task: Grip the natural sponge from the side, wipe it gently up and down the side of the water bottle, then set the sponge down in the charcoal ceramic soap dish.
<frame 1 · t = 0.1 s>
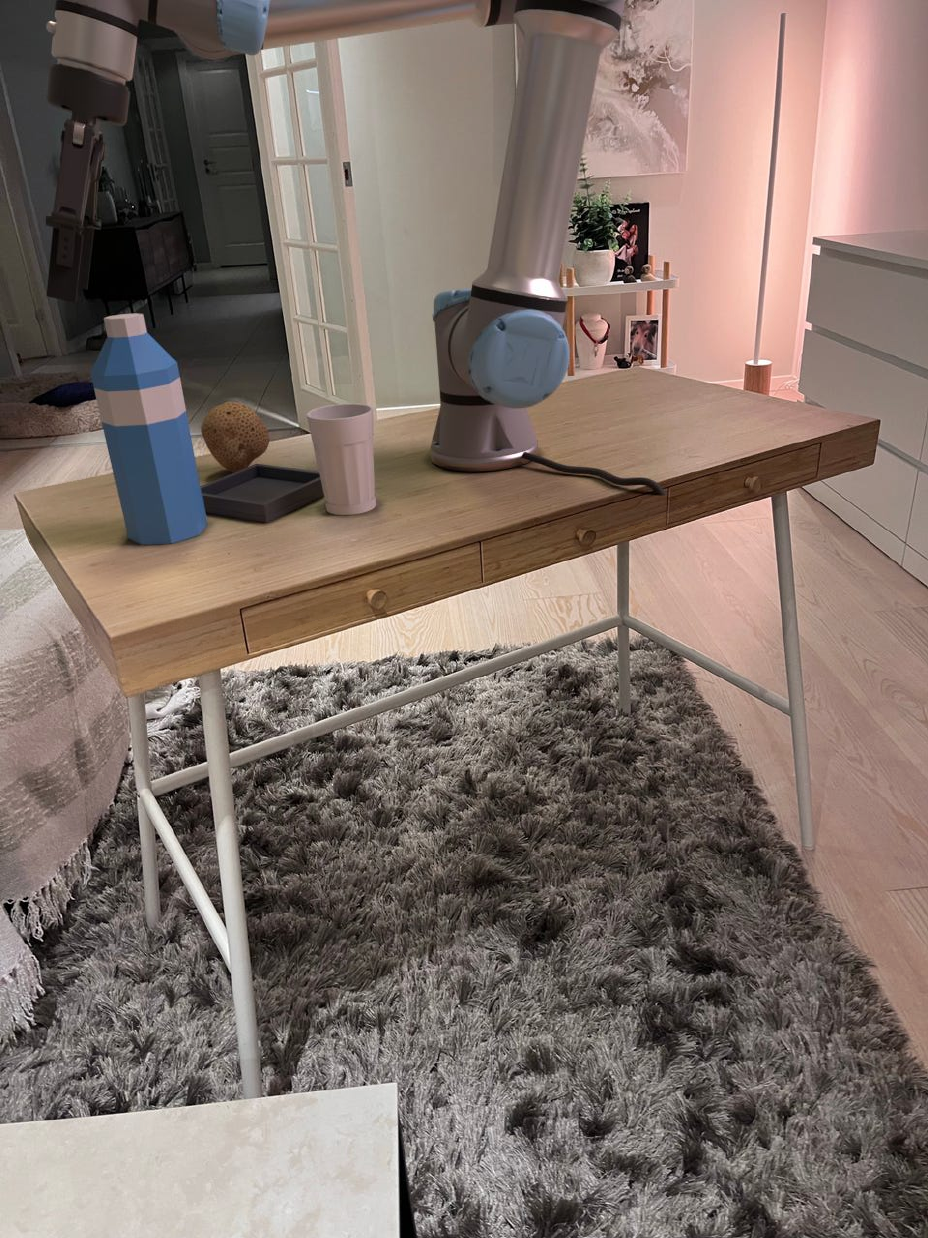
hand: (68, 292, 100), 28 cm above the table, tool tilted 20°, fingers open, 13 cm apart
soap dish: (262, 499, 122), on the table
cup: (351, 508, 118), on the table
water bottle: (168, 532, 113), on the table
natural sponge: (242, 472, 135), on the table
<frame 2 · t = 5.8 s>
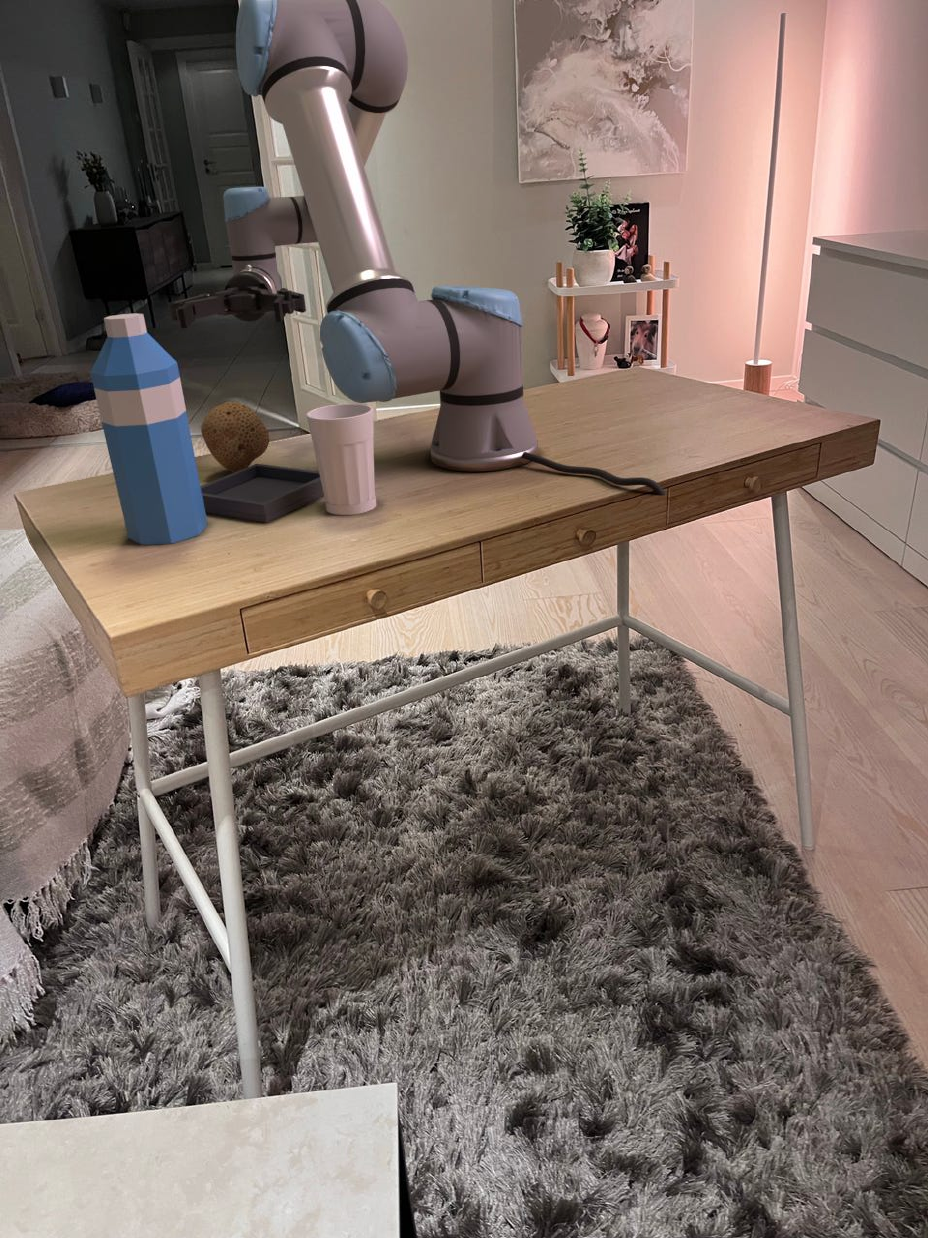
hand: (229, 315, 135), 20 cm above the table, tool horizontal, fingers open, 13 cm apart
nothing on the table moved.
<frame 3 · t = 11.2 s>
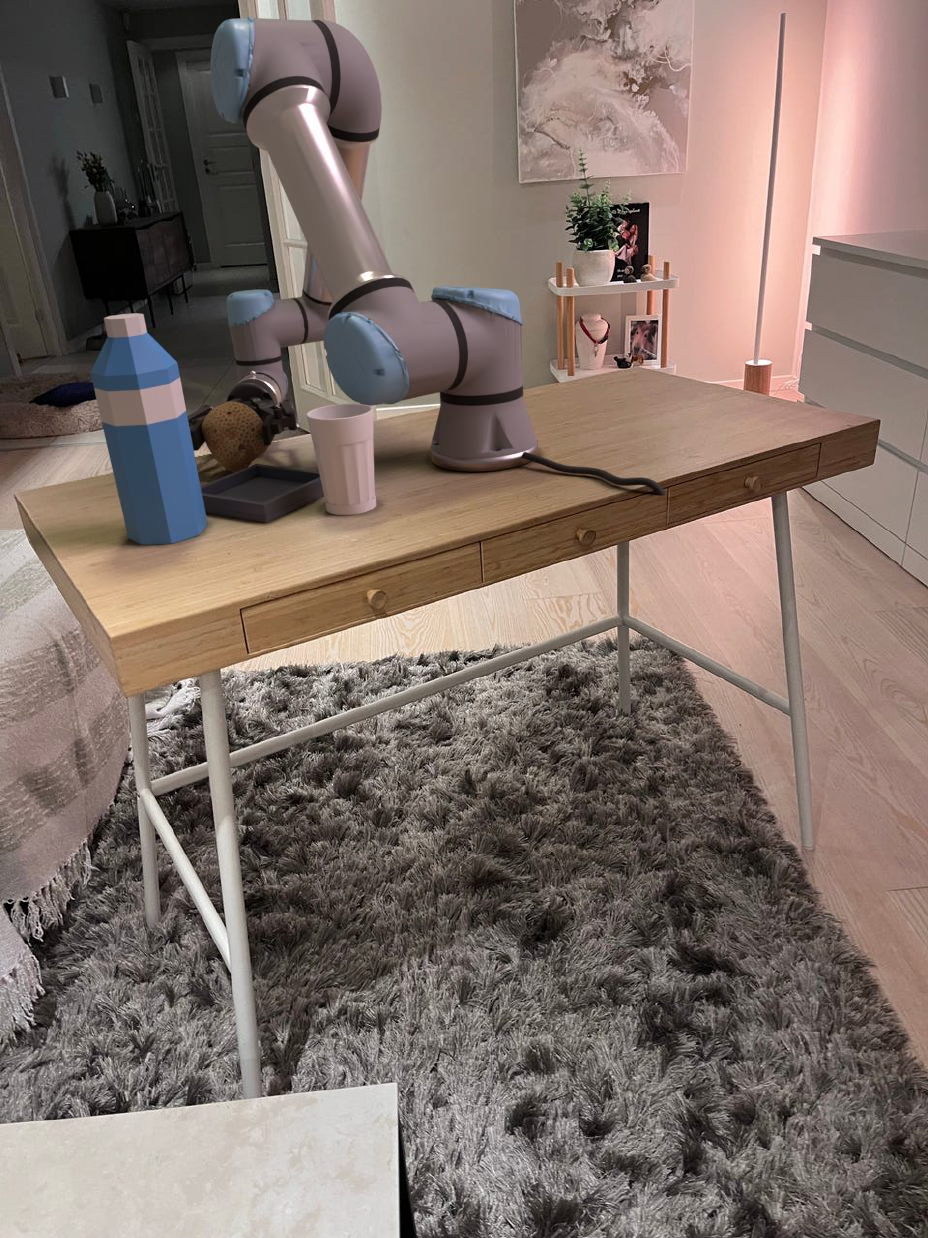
hand: (229, 438, 128), 6 cm above the table, tool horizontal, fingers closed on natural sponge, 9 cm apart
natural sponge: (242, 472, 135), on the table, touching gripper
everything else where it was.
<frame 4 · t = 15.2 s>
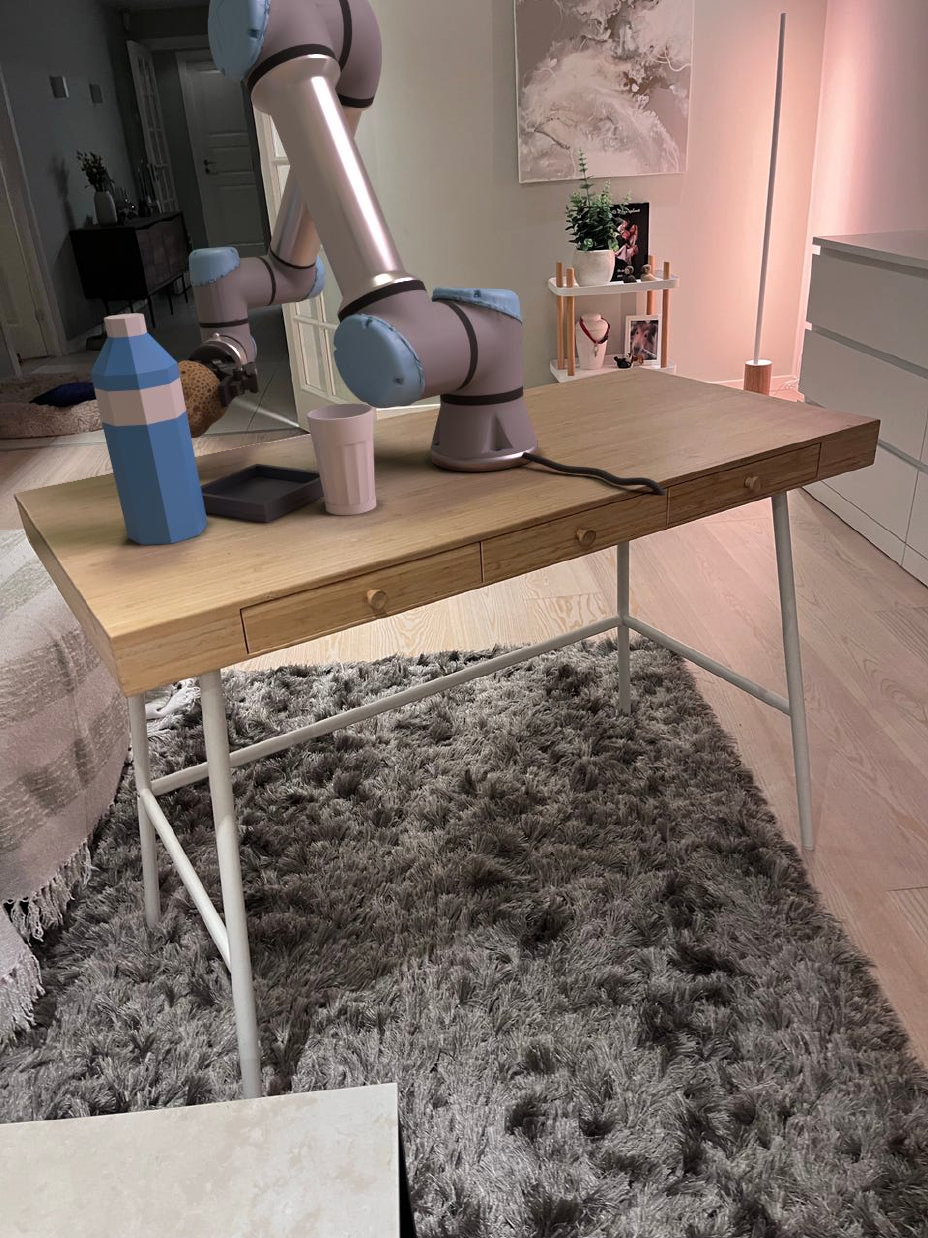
hand: (183, 399, 119), 13 cm above the table, tool horizontal, fingers closed on natural sponge, 9 cm apart
natural sponge: (199, 438, 126), point 7 cm above the table, touching gripper
everything else where it was.
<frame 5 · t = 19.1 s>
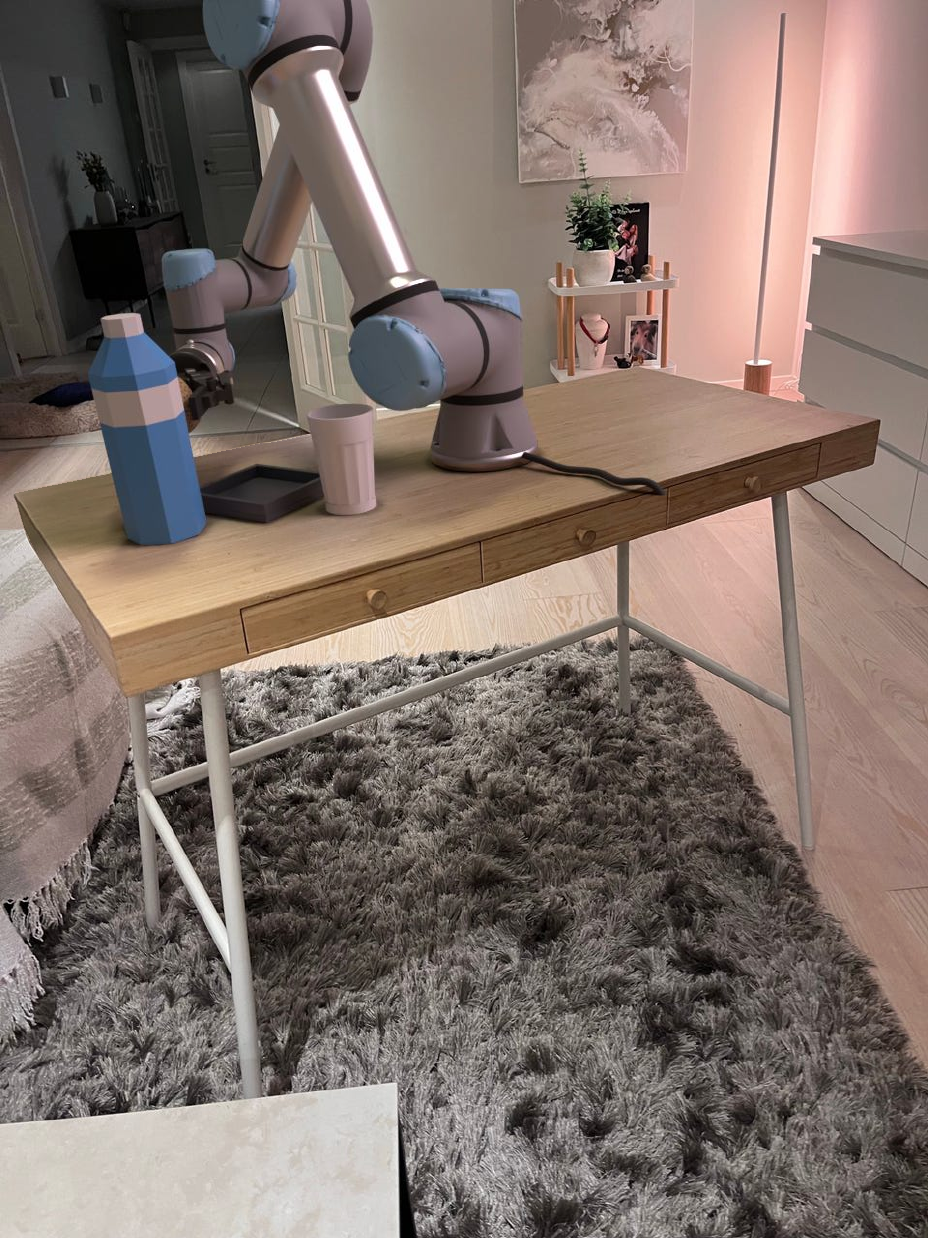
hand: (152, 411, 112), 13 cm above the table, tool horizontal, fingers closed on natural sponge, 9 cm apart
natural sponge: (170, 452, 118), point 7 cm above the table, touching gripper
everything else where it was.
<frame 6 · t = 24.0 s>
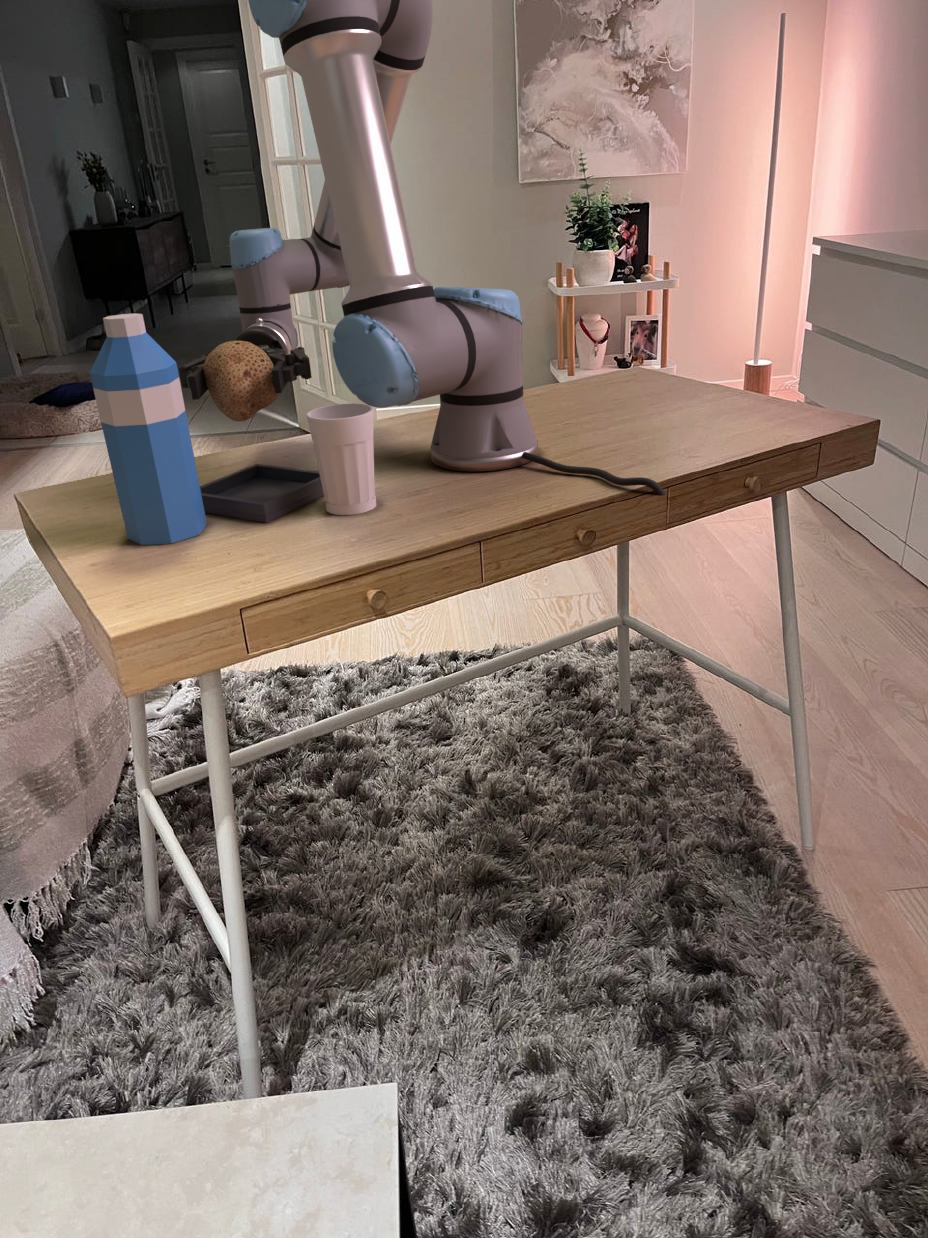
hand: (235, 384, 111), 16 cm above the table, tool horizontal, fingers closed on natural sponge, 9 cm apart
natural sponge: (244, 422, 116), point 11 cm above the table, touching gripper
everything else where it was.
when the fingers open (7 cm above the table, at t = 27.2 s): natural sponge moves 2 cm, resting on soap dish.
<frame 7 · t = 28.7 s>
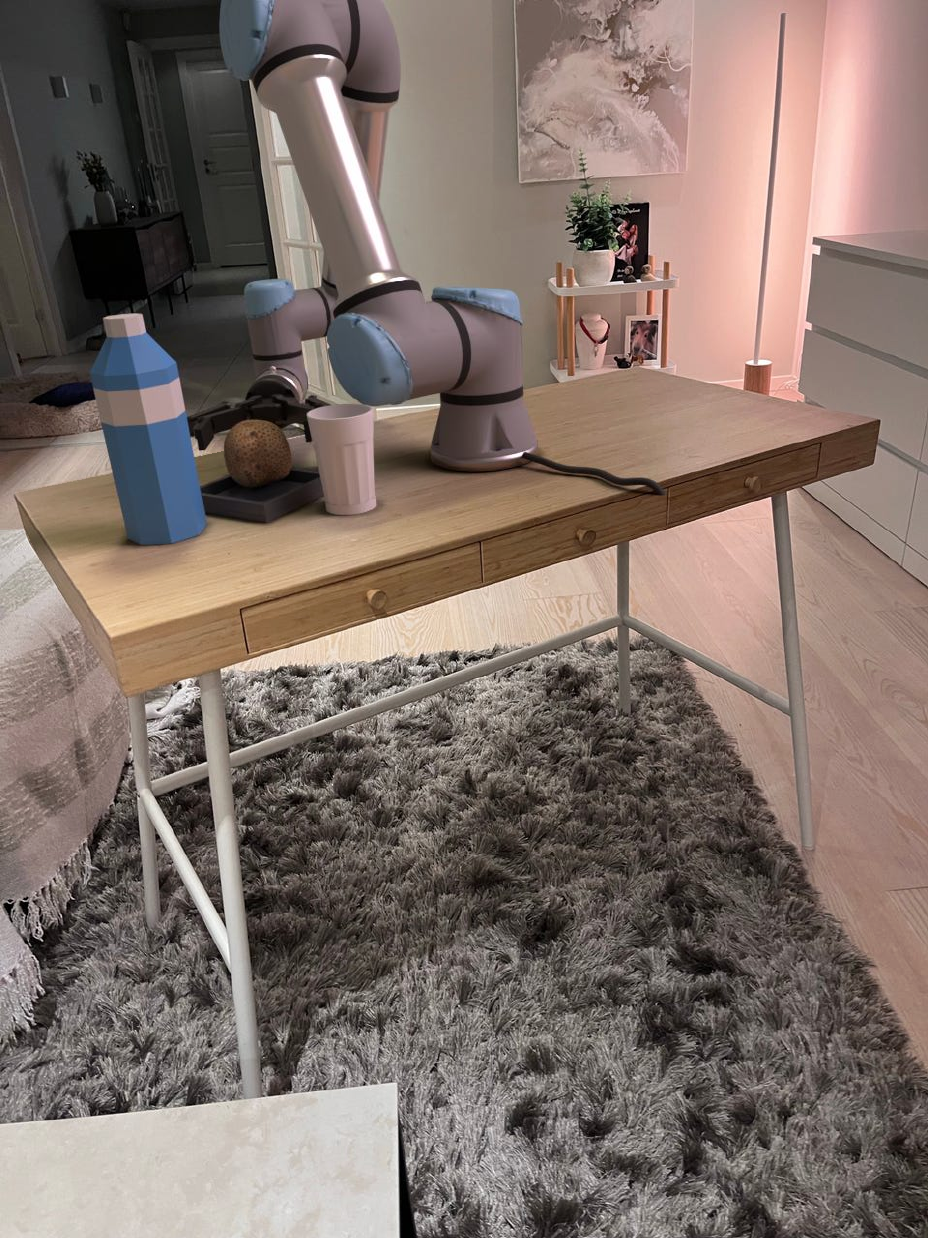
hand: (253, 436, 119), 8 cm above the table, tool horizontal, fingers open, 13 cm apart
natural sponge: (249, 485, 120), point 2 cm above the table, touching soap dish
everything else where it was.
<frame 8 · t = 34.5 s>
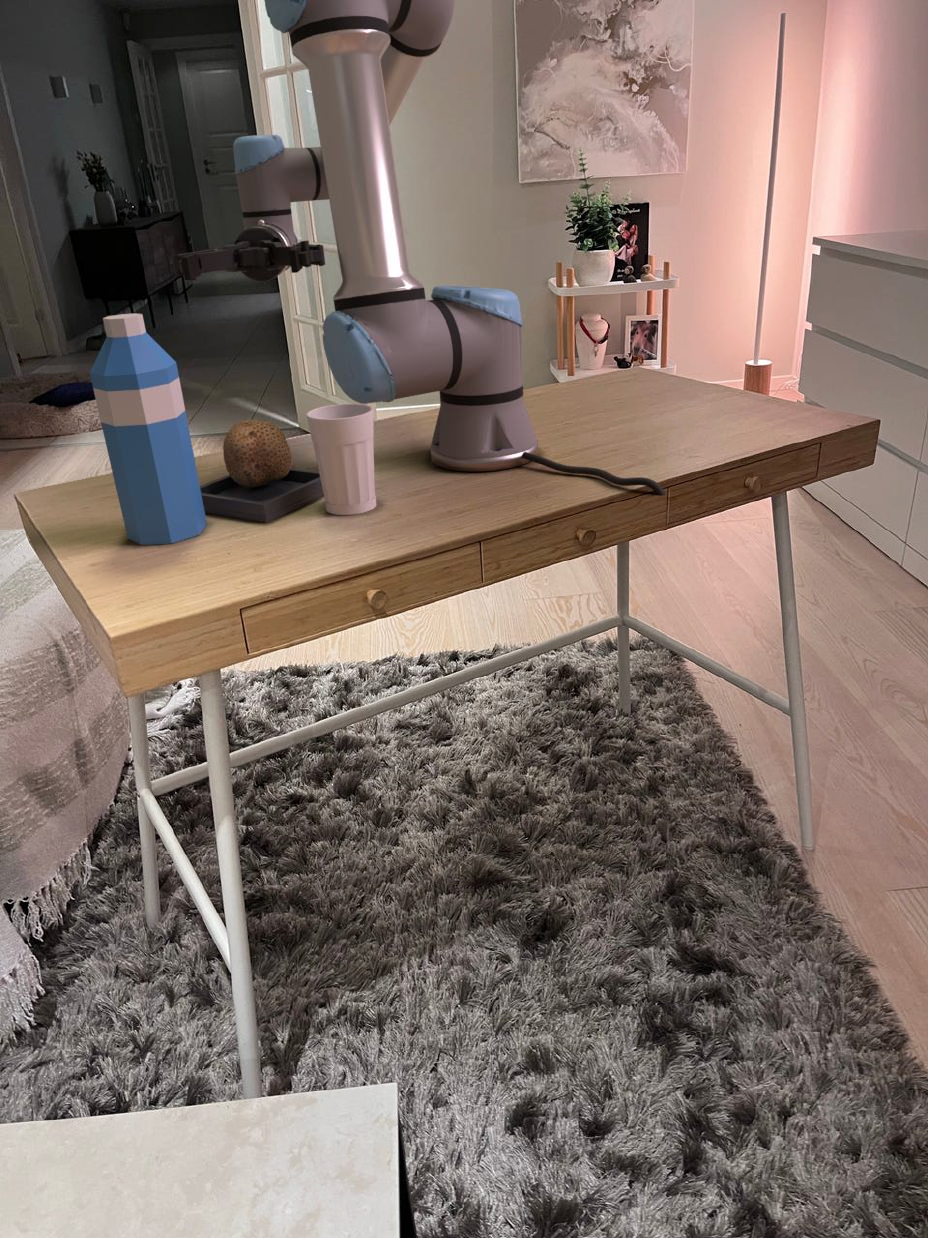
hand: (239, 265, 119), 28 cm above the table, tool horizontal, fingers open, 13 cm apart
nothing on the table moved.
at the end: natural sponge inside the target area on the soap dish (1.6 cm from its centre), point 2.4 cm above the soap dish's base; water bottle tilted 0°; water bottle moved 0.2 cm from its start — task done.
